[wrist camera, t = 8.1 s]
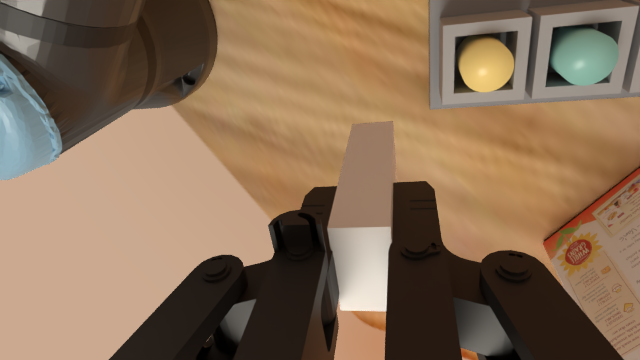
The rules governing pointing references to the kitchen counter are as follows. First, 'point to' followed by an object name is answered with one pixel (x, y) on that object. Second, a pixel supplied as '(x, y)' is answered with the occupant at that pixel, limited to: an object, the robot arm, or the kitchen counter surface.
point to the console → (529, 49)
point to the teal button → (582, 54)
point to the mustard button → (484, 62)
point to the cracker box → (605, 264)
